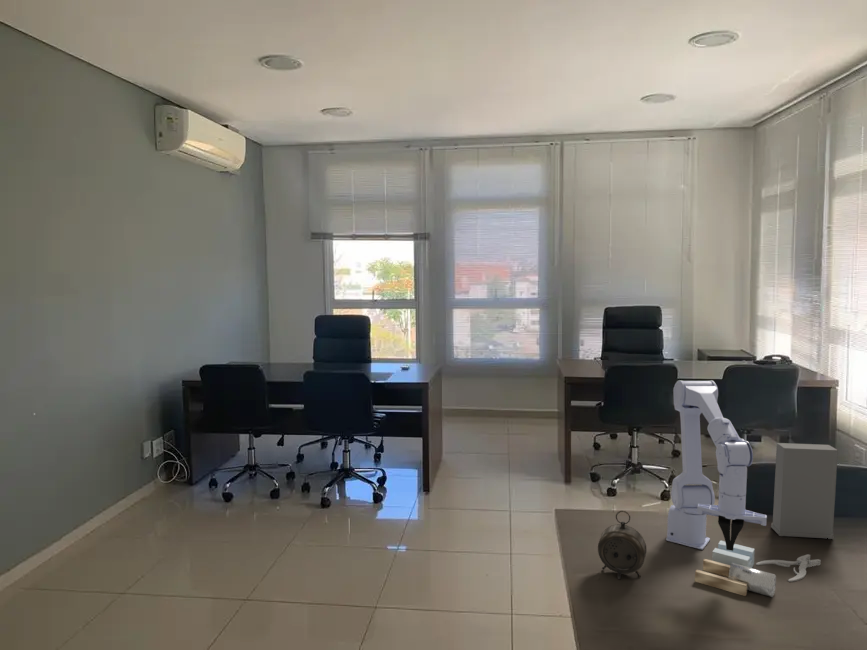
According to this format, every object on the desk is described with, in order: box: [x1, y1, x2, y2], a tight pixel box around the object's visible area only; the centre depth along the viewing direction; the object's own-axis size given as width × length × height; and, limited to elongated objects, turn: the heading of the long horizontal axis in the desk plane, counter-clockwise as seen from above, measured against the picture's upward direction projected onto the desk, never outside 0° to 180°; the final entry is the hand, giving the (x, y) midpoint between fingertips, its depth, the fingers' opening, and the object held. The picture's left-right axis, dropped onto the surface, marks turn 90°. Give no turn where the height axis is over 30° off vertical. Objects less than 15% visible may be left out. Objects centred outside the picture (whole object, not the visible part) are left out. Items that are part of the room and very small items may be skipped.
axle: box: [727, 563, 777, 598], centre depth 145 cm, size 9×5×5 cm, turn 52°
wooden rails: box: [694, 558, 748, 597], centre depth 149 cm, size 11×8×2 cm
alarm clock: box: [597, 510, 647, 580], centre depth 151 cm, size 11×5×16 cm, turn 65°
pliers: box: [755, 554, 822, 583], centre depth 156 cm, size 10×2×15 cm
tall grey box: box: [770, 442, 839, 540], centre depth 175 cm, size 14×6×25 cm, turn 82°
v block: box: [711, 540, 756, 568], centre depth 157 cm, size 8×8×4 cm
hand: (729, 548), depth 148 cm, fingers closed
